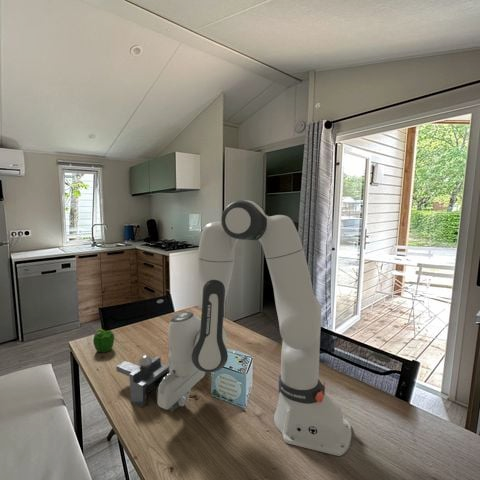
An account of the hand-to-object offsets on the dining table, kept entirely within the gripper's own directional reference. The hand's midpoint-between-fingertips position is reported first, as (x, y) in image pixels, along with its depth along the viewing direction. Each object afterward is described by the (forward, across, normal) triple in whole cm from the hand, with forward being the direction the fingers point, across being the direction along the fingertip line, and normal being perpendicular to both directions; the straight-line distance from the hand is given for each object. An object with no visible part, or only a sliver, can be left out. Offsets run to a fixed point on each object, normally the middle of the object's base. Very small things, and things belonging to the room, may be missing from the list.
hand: (183, 403), depth 94 cm
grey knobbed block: (+2, 0, +6) cm, 6 cm away
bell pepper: (+2, +12, +55) cm, 56 cm away
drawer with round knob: (+2, 0, +20) cm, 21 cm away
